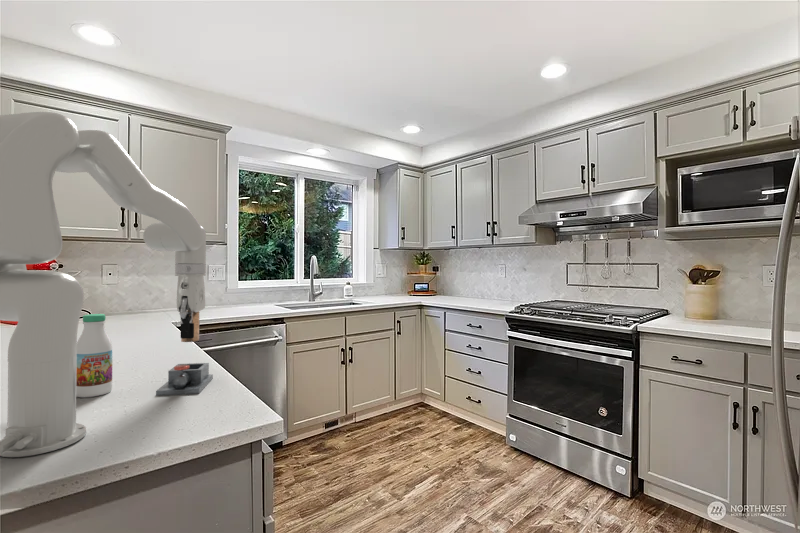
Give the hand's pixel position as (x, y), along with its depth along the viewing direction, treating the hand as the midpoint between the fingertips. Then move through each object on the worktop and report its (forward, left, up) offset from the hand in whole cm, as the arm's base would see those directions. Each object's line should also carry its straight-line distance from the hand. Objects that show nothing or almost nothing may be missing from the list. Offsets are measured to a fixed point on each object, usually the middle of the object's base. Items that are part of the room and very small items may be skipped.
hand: (190, 335), depth 112 cm
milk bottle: (-5, +21, -13) cm, 25 cm away
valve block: (-3, 0, -13) cm, 14 cm away
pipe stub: (0, 0, -1) cm, 1 cm away
